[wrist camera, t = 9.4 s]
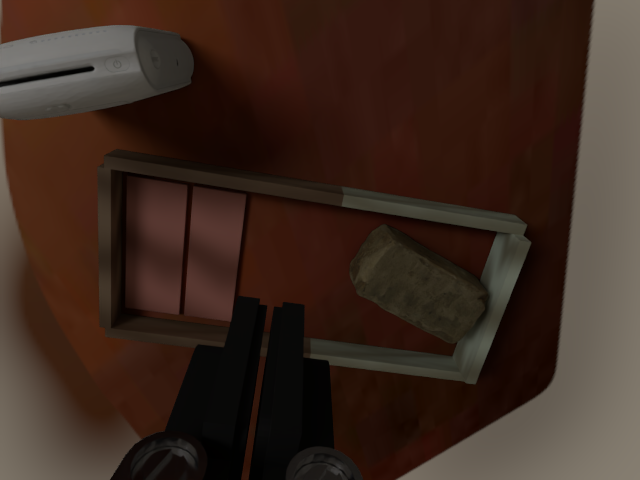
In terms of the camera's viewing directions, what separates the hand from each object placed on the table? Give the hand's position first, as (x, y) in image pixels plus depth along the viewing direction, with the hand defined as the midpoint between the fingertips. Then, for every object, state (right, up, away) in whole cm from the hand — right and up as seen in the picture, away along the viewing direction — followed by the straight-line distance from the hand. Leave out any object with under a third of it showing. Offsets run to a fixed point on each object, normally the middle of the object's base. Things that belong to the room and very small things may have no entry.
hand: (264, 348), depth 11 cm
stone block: (+10, 0, +31) cm, 33 cm away
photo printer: (-13, +16, +23) cm, 31 cm away
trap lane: (0, 0, +30) cm, 30 cm away
